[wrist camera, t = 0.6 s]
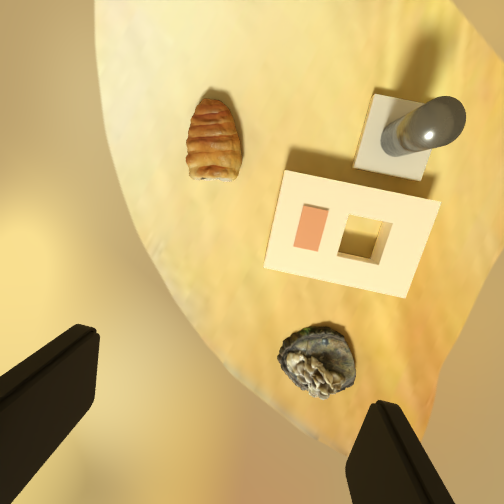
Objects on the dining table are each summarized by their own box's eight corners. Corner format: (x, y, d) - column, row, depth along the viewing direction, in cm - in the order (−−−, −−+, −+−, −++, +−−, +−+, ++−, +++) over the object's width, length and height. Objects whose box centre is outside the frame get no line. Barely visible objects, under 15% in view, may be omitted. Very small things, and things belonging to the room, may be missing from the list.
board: (284, 171, 33) (285, 169, 30) (426, 200, 33) (443, 202, 30) (264, 261, 36) (263, 268, 33) (394, 289, 36) (406, 299, 32)
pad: (371, 96, 31) (374, 93, 30) (440, 110, 30) (446, 107, 29) (351, 167, 33) (353, 167, 32) (416, 181, 32) (420, 180, 31)
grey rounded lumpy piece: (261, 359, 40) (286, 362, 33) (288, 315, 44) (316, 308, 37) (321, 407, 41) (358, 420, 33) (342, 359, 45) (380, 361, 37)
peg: (386, 116, 30) (425, 91, 22) (421, 123, 30) (473, 101, 22) (375, 153, 31) (409, 141, 23) (409, 160, 31) (455, 150, 23)
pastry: (187, 103, 33) (176, 93, 29) (241, 101, 32) (237, 90, 28) (192, 182, 35) (182, 181, 31) (243, 181, 34) (239, 180, 31)
